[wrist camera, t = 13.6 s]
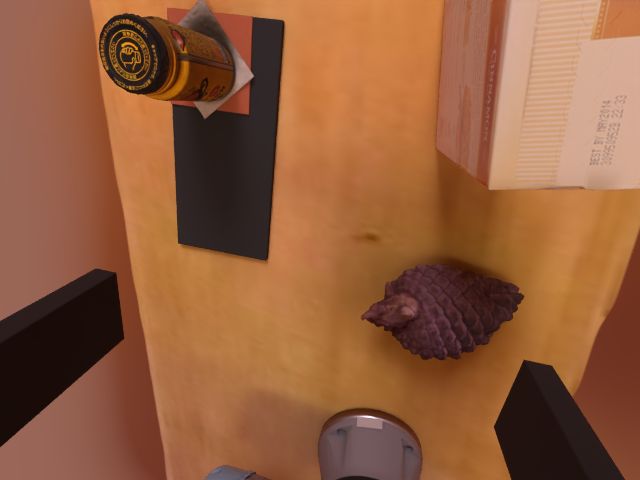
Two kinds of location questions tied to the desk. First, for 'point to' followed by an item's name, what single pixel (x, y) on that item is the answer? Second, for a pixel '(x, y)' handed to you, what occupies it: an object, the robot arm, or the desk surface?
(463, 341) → the pine cone
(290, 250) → the desk surface
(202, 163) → the desk mat
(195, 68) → the condiment
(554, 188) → the coffeecake box
